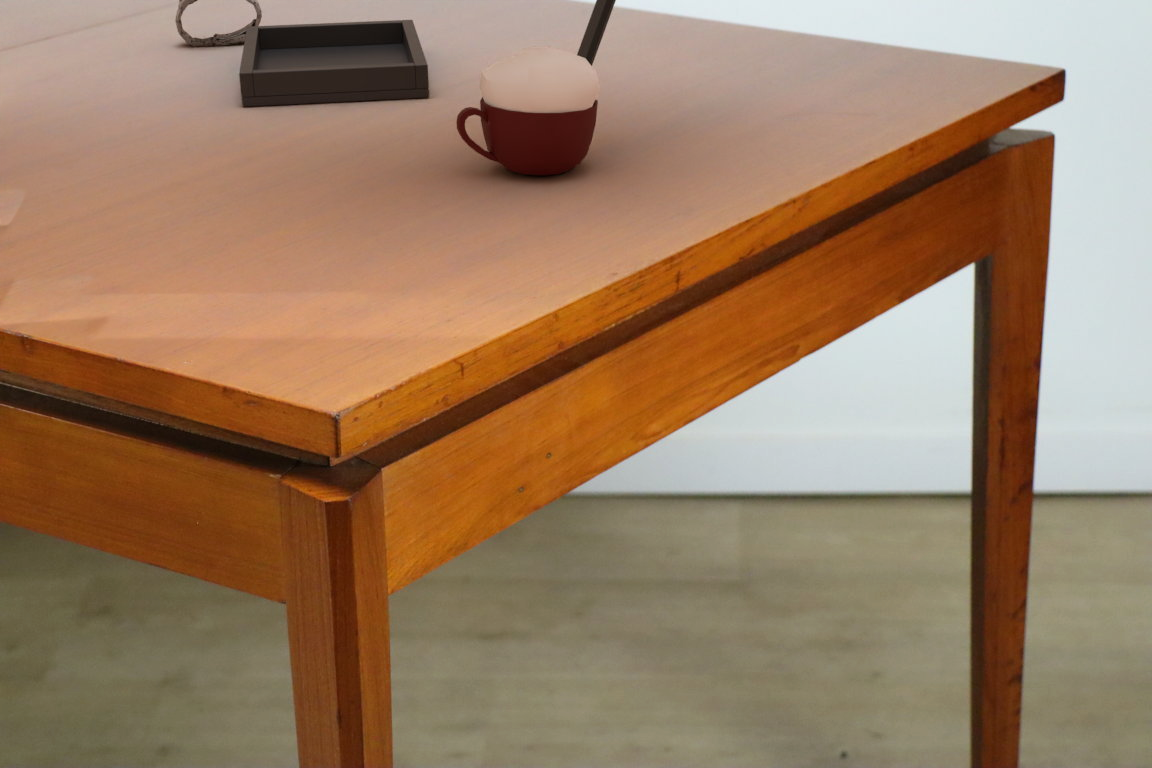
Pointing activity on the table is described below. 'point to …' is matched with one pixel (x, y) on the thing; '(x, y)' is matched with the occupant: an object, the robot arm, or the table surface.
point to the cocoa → (541, 104)
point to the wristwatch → (218, 38)
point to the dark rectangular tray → (332, 63)
